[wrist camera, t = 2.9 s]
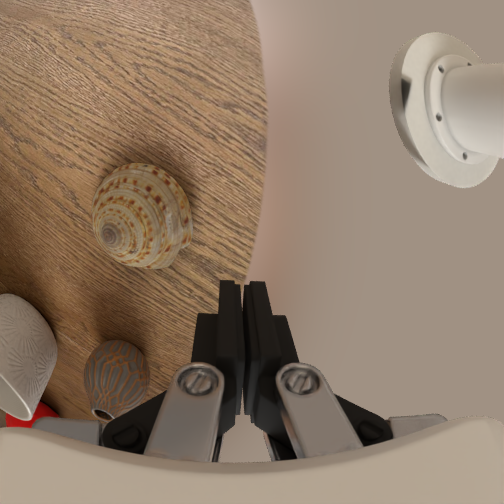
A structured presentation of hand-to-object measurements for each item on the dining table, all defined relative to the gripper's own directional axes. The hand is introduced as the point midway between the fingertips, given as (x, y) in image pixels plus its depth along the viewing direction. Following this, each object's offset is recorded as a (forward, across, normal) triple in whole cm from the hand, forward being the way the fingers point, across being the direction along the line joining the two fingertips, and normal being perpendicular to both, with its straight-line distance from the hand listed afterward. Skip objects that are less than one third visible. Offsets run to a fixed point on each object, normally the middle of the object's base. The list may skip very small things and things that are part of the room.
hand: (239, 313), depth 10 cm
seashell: (+12, +7, 0) cm, 14 cm away
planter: (+13, +26, +14) cm, 32 cm away
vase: (+12, +11, +15) cm, 23 cm away
